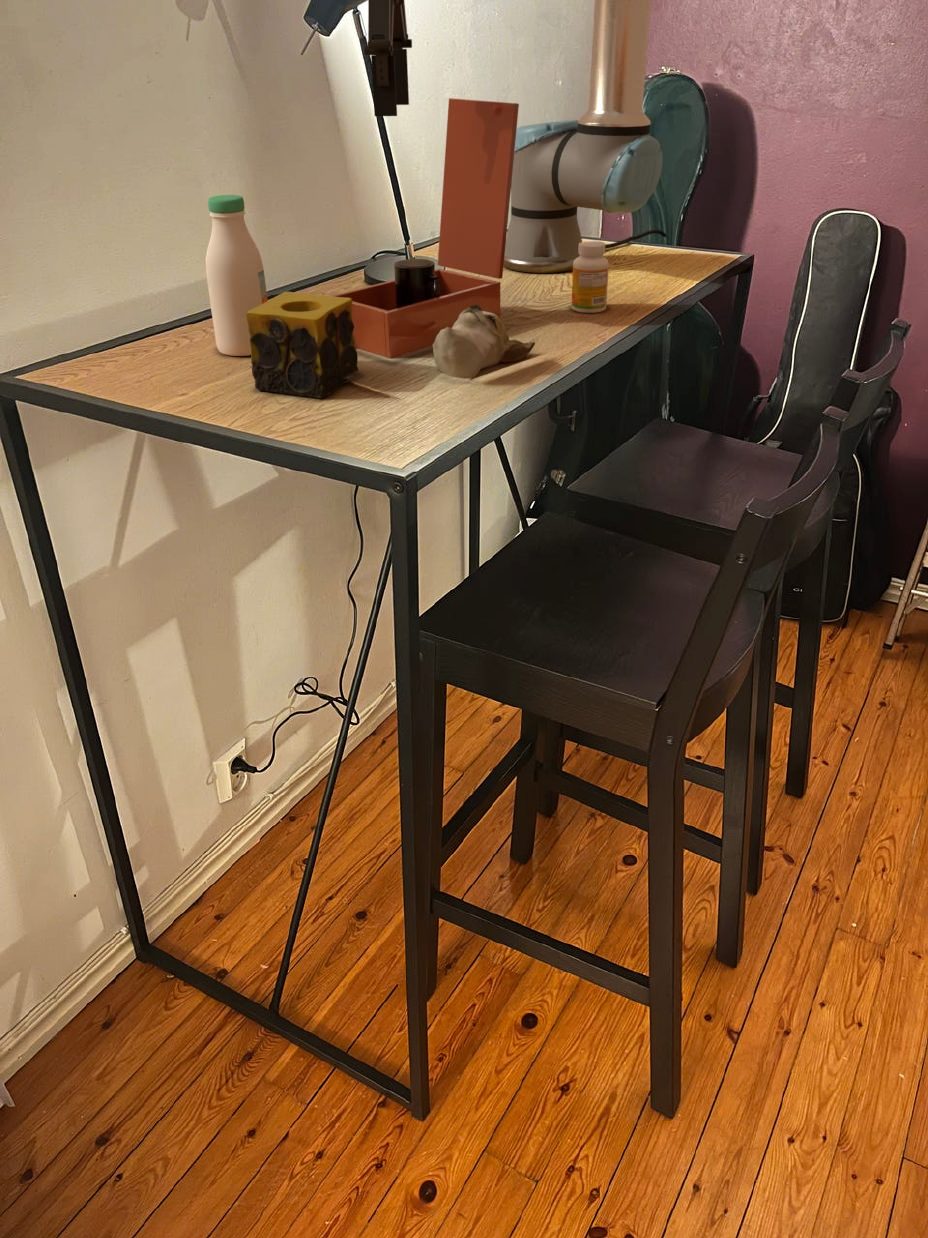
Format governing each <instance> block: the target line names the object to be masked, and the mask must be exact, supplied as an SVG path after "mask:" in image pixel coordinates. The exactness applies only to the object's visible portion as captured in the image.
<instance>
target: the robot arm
mask: <svg viewBox="0 0 928 1238" xmlns="http://www.w3.org/2000/svg"><path fill="white" fill-rule="evenodd" d="M367 5H368V9H367V13H368V14H367V15H368V16H367V18H368V19H367V24H368V26H367V45H364V46H363V50H364V56H370V60H371V78H372V97H373V112H374V113H373V114H374V117H397V116H398V106H409V105H410V96H409V95H410V93H409V71H408V69H409V68H408V49H412V48H413V39H412V38H409V34H408V27H407V26H408V25H407V16H406V15H407V14H406V4H405V0H368V3H367ZM651 8H652V0H594V6H593V21H592V39H591V55H590V58H591V59H590V69H589V72H590V74H589V86H588V88H589V89H588V104H587V110H586V112H584V114H583V115H581V117H580V118H579V119H568V120H559V121H550V122H549V121H548V122H543V123H542V122H541V123H535V124H534V123H533V124H528V125H521V126H519V127H517V130H516V140H515V151H514V161H513V172H512V182H511V193H510V221H509V223H508V226H507V235H506V245H505V256H504V266H503V268H506V269H508V270H512V271H517V272H524V273H538V274H546V273H548V274H549V273H552V274H553V273H564V272H569V271H573V262H574V260H575V259H576V258H578V257H579V256H580V254H579V253H578V247H579V243H581V242H583V238H582V233H581V229H580V225H579V222H578V221H579V220H578V208H585V209H590V210H599V211H604V212H606V213H608V214H613V213H621V214H622V213H623V214H630V213H634V212H637V211H638V210H639V209H641V208H642V207H643V206H645V205H646V203H647V202H649V199H650V198H651V196H652V195H653V193H654V192H655V190H656V188H657V186H658V183H659V180H660V178H661V174H662V168H663V151H662V149H661V144H660V142H659V141H658V139H656V138H654V137H653V136H651V124H652V121H651V120H650V119H649V118H648V117H647V115H646V114H645V112H644V110H643V106H644V91H645V80H646V69H647V57H648V45H649V33H650V24H651V23H650V22H651V11H652V9H651ZM653 234H658V235H659V236H660V235H661V237H663V238H667V237H668V235H667V233H666V232H665V231H663V230H661V229H656V228H653V229H649V230H646V231H643V232H641V233H638V234H635V235H632V236H629V237H627V238H624V239H622V240H619V241H616V242H612V243H607V244H606V243H605V250H606V249H612V248H615V247H619V246H623V245H625V244H627V243H629V242H632V241H636V240H638V239H641V238H643V237H646V236H649V235H653Z"/></svg>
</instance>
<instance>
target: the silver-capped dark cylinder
mask: <svg viewBox="0 0 928 1238" xmlns="http://www.w3.org/2000/svg"><path fill="white" fill-rule="evenodd" d="M435 263H436V262H435V261H433V260H431V259H425V258H406V259H401V260H397V261H395V262H394V264H393V265H394V266H393V268H394V269H393V270H394V280H395V289H396V309H397V308H401V307H405V306H408V305H412V304H416V303H419V302H423V301H427V300H430V299H434V298H437V297H440V290H439V280H438V276H435V270H436V264H435Z"/></svg>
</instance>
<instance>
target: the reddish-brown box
mask: <svg viewBox="0 0 928 1238" xmlns="http://www.w3.org/2000/svg"><path fill="white" fill-rule="evenodd" d="M435 276H438V280H439V290H440V297H437V298H434V299H430V300H427V301H423V302H419V303H416V304H412V305H408V306H405V307H401V308H397V309H396V289H395V279H392V280H388V281H384V282H379V283H376V284H372V285H368V286H364V287H360V288H357V289H351V290H347V291H344V292H340V293H336V294H332V295H331V296H333V297H345V298H351V299H352V322H353V324H354V329H353V334H354V341H355V348H356V349H358V350H361V351H365V352H368V353H371V354H374V355H377V356H381V357H384V358H387V359H390V360H391V359H394V358H397V357H400V356H403V355H407V354H410V353H412V352H416V351H419V350H422V349H426V348H429V347H433V344H434V342H435V339H436V337H437V335H438V334H439V332H440V331H441V330H442V329H445V328H446V327H449V328H452V327H453V325H454V323H455V322H456V321H457V320H458V317H459V315H460V314H461V313H462V312H463V311H464V310H466V309H468V308H469V307H470V306H472V305H478V306H480V308H481V310H482V311H485V312H489V313H493V314H496V315H497V316H498V317H499V318H500V319H501V282H500V281H497V280H493V279H488V278H484V277H480V276H475V275H470V274H466V273H461V272H458V271H453V270H447V269H443V268H435Z"/></svg>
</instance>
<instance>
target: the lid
mask: <svg viewBox="0 0 928 1238" xmlns="http://www.w3.org/2000/svg"><path fill="white" fill-rule="evenodd" d="M519 107H520V104H519V103H517V102H505V101H504V102H503V101H493V100H492V101H491V100H490V101H489V100H479V99H477V100H476V99H465V98H452V97H451V98H448V107H447V109H448V110H447V119H446V121H447V122H446V135H445V150H444V151H445V153H444V165H443V181H442V193H441V195H442V196H441V209H440V210H441V211H440V223H439V238H438V240H439V241H438V251H437V252H438V253H437V254H438V255H437V266H438V267H439V266H440V267H444V268H448V269H452V270H457V271H461V272H466V273H471V274H475V275H476V274H477V275H480V276H485V277H489V278H493V279H499V280H500V279H501V280H502V279H503V276H504V256H505V245H506V235H507V230H508V225H509V222H508V221H509V213H510V204H511V182H512V172H513V161H514V151H515V140H516V130H517V128H518V120H519V119H518V117H519Z"/></svg>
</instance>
